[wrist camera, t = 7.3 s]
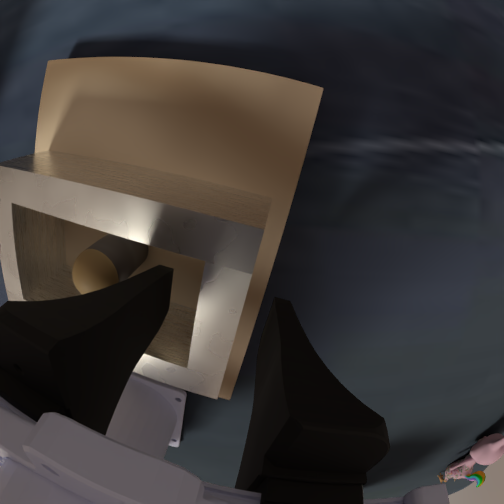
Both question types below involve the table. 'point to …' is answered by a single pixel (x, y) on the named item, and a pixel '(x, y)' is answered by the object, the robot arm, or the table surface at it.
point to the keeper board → (179, 156)
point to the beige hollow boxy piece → (141, 230)
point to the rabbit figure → (476, 459)
